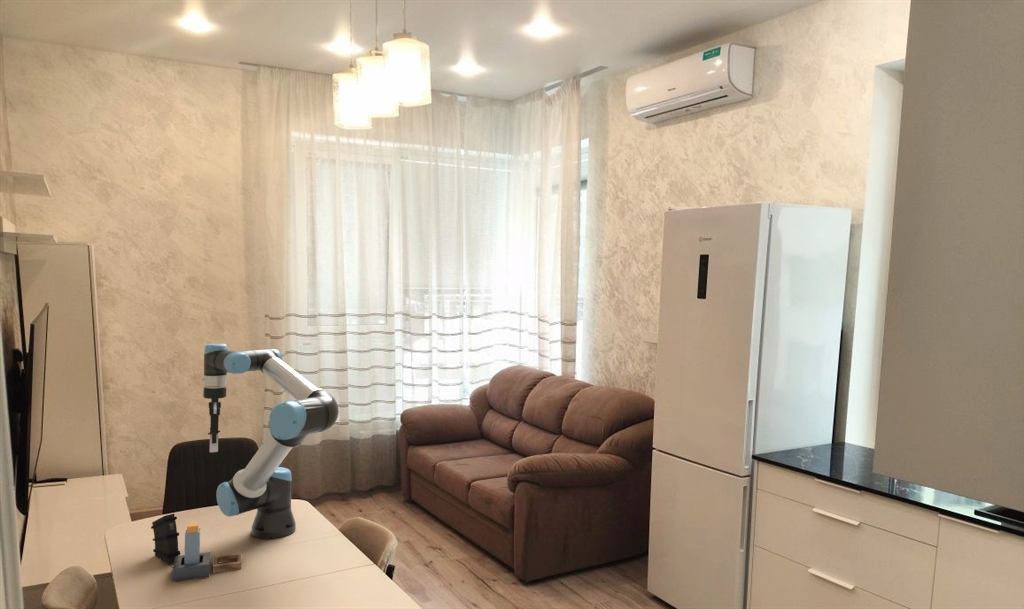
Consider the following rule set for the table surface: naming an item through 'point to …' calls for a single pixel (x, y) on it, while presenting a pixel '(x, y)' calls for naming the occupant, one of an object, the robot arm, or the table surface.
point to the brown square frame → (227, 565)
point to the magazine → (166, 538)
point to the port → (191, 568)
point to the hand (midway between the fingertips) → (213, 451)
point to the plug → (192, 544)
